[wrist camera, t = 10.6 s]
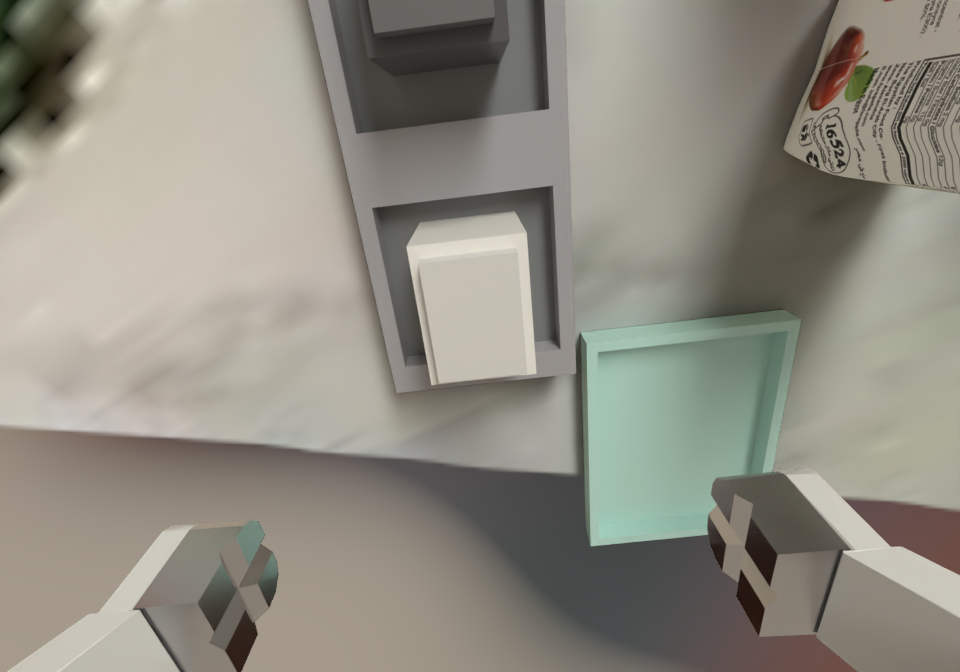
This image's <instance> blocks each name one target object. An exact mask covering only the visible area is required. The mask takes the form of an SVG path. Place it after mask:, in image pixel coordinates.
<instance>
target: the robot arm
mask: <svg viewBox="0 0 960 672" xmlns="http://www.w3.org/2000/svg"><path fill="white" fill-rule="evenodd" d="M711 496H712V497H713V499H714V501H715V502H716V504H717V506H716V507H715V508H714V509H713V510H712V511H711V512H710V513H709V514H708V524H707V530H708V536H709V542H710V546H711V548H712V551H713V554H714V556H715V558H716V560H717V562H718V564H719V566H720V568H721V569H722V571H723V572H724V573H726V574H727V575H729V576H730V577H732V578H733V579H734V580H736V581H737V582H738V588H737V594H736V597H737V599H738V600H739V602H740V604H741V606H742V607H743V609H744V611H745V613H746V615H747V616H748V618H749V620H750V622H751V623H752V625H753V627H754V629H755V630H756V632H757V634H758V636H759V637H765V636H787V635H806V634H807V635H808V634H817V636H816V637H817V638H818V639H819V640H820V641H821V642H822V643H824V644H825V645H826V646H827V647H829V648H830V649H831V650H832V651H833V652H835V653H836V654H837V655H838V656H839V657H841V658H842V659H843V660H844V661H846V662H847V663H848V664H849V665H850V666H852V667H853V668H854V669H855V670H857V671H858V672H960V575H958V574H956V573H954V572H952V571H949V570H948V569H946V568H944V567H941V566H940V565H938V564H935V563H934V562H931V561H930V560H927V559H926V558H923V557H921V556H919V555H917V554H915V553H913V552H911V551H909V550H907V549H905V548H903V547H890V546H889V545H888V544H887V543H886V542H885V541H884V540H883V539H882V538H881V537H880V536H879V535H878V534H877V533H876V532H875V531H874V530H873V529H872V528H871V527H870V526H869V525H868V524H867V523H866V522H865V521H864V520H863V519H862V518H861V517H860V516H859V515H858V514H857V513H856V512H855V511H854V510H853V509H852V508H851V507H850V506H849V505H848V504H847V503H846V502H845V501H844V500H843V499H842V498H841V497H840V496H839V495H838V494H837V493H836V492H835V491H834V490H833V489H832V488H831V487H830V486H829V485H828V484H827V483H826V482H825V481H824V480H823V479H822V478H821V477H820V476H819V475H818V474H817V473H816V472H814V471H812V470H810V469H808V468H804V469H794V470H784V471H777V472H765V473H756V474H746V475H736V476H726V477H716V479H715V481H714V482H713V484H712V490H711ZM264 536H265V533H264V531H263V529H262V527H261V525H260V523H259V521H253V520H246V521H231V522H215V523H199V524H193V525H177V526H171V527H170V528H168V529H166V530H165V531H163V532H162V533H161V534H160V535H159V537H158V538H157V539H156V541H155V542H154V543H153V544H152V546H151V547H150V548H149V549H148V551H147V552H146V553H145V554H144V556H143V557H142V558H141V560H140V561H139V562H138V563H137V565H136V566H135V567H134V568H133V570H132V571H131V572H130V573H129V575H128V576H127V577H126V579H125V580H124V581H123V582H122V584H121V585H120V586H119V587H118V589H117V590H116V591H115V592H114V594H113V595H112V596H111V597H110V599H109V600H108V601H107V603H106V604H105V605H104V606H103V608H102V609H101V610H100V612H99V613H94V614H88V615H87V616H85V617H84V618H83V619H81V620H80V621H78V622H77V623H76V624H74V625H73V626H71V627H70V628H68V629H67V630H65V631H64V632H63V633H61V634H60V635H58V636H57V637H55V638H54V639H53V640H51V641H50V642H48V643H47V644H46V645H44V646H43V647H41V648H40V649H38V650H37V651H36V652H34V653H33V654H31V655H30V656H28V657H27V658H26V659H24V660H23V661H21V662H20V663H18V664H17V665H16V666H14V667H13V668H11V669H10V670H9V671H7V672H241V671H242V669H243V667H244V664H245V662H246V660H247V657H248V655H249V653H250V651H251V648H252V646H253V644H254V642H255V639H256V637H257V635H258V633H257V629H256V625H255V621H256V620H257V619H258V618H259V617H260V616H261V615H262V614H264V612H266V611H267V610H268V609H269V607H270V605H271V602H272V600H273V597H274V595H275V592H276V587H277V580H278V567H277V561H276V558H275V556H274V554H273V552H272V551H271V550H269V549H268V548H266V547H265V546H263V545H262V544H261V542H262V540H263V538H264Z"/></svg>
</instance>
